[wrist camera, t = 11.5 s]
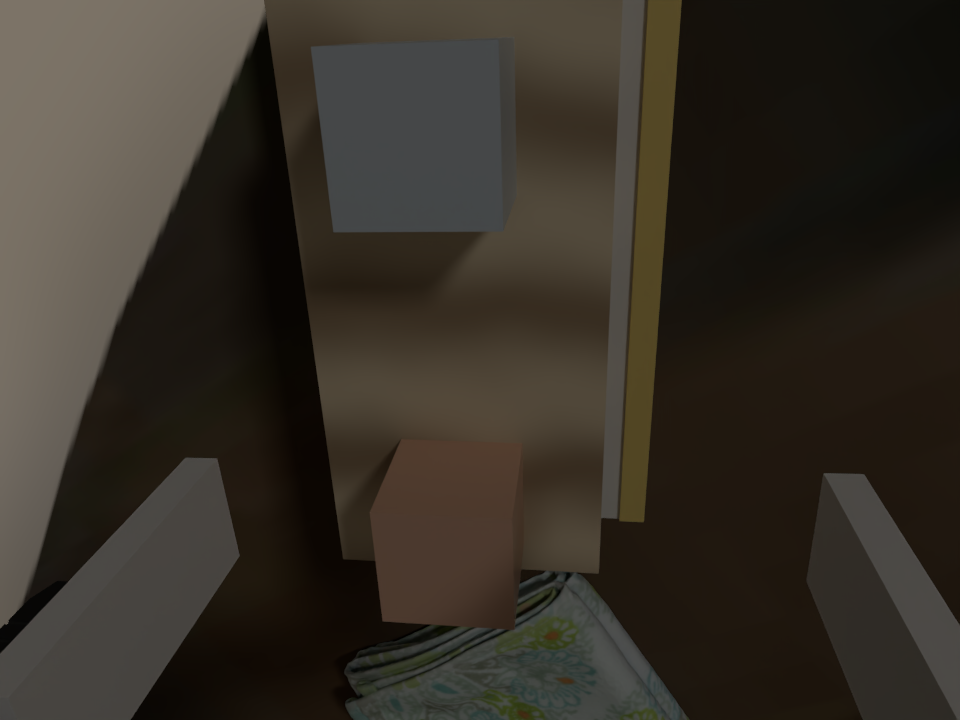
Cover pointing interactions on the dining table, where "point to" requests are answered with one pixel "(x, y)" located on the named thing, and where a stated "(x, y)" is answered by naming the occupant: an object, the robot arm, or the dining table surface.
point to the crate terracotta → (450, 533)
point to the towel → (516, 666)
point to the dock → (638, 246)
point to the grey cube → (418, 134)
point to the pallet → (469, 272)
